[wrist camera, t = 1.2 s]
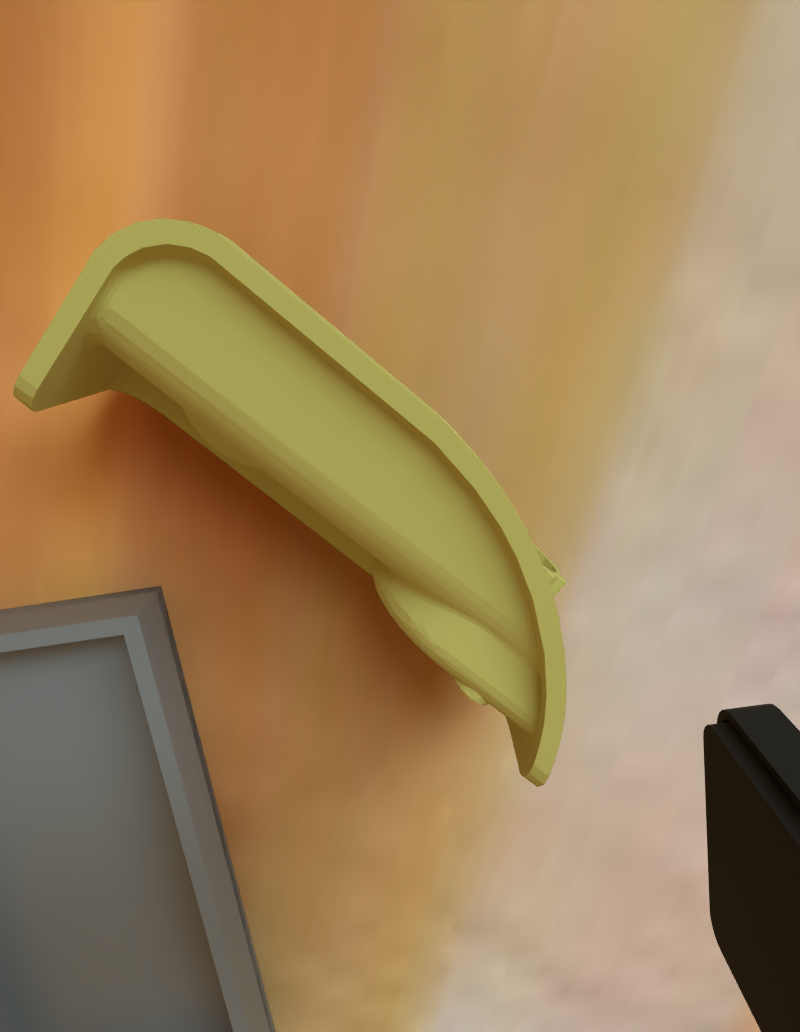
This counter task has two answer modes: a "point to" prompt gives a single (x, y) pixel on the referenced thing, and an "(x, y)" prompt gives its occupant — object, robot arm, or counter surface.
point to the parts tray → (112, 833)
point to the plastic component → (322, 453)
